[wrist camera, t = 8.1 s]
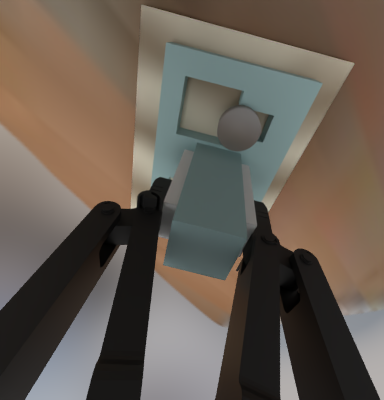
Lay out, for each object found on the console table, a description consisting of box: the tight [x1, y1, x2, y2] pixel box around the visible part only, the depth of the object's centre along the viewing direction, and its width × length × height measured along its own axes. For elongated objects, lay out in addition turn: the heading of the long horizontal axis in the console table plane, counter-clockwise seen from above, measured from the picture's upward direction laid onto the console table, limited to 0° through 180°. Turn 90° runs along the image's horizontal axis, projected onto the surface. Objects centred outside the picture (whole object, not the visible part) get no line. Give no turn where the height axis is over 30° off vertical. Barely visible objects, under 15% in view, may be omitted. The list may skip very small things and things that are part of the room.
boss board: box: [131, 4, 355, 212], centre depth 18 cm, size 18×14×4 cm
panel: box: [151, 42, 323, 280], centre depth 15 cm, size 15×10×10 cm, turn 168°
